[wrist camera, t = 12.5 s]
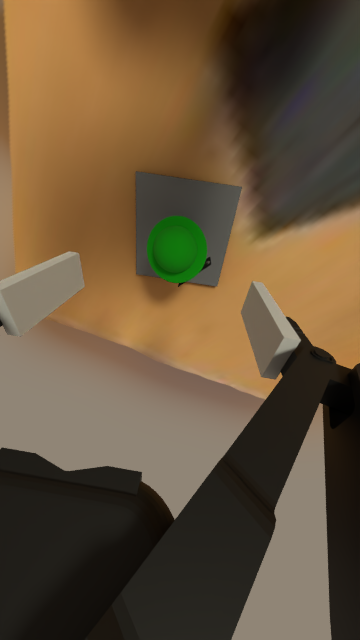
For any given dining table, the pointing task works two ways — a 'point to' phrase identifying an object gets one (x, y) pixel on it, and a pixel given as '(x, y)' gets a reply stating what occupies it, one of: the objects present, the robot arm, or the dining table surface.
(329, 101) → the dining table surface
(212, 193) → the plate
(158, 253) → the toy
